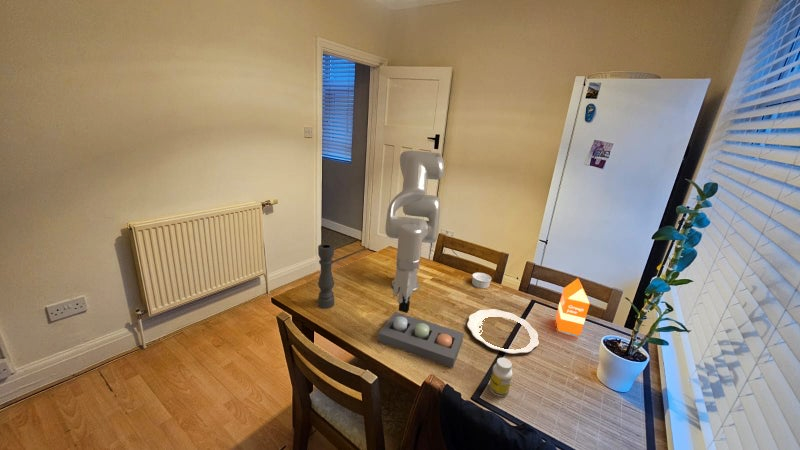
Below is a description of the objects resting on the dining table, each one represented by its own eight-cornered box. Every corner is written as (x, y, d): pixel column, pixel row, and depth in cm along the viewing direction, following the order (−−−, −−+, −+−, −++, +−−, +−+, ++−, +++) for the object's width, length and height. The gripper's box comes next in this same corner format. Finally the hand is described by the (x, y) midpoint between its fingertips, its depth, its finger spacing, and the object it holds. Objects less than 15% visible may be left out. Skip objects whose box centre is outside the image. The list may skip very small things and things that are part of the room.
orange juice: (556, 332, 118) (569, 285, 112) (554, 319, 126) (566, 275, 120) (579, 338, 116) (594, 290, 110) (576, 324, 124) (589, 279, 118)
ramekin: (475, 278, 155) (476, 270, 154) (492, 284, 151) (494, 276, 149) (467, 285, 149) (469, 276, 147) (485, 291, 144) (487, 283, 142)
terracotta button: (438, 339, 108) (439, 331, 107) (452, 343, 106) (453, 336, 105) (434, 347, 103) (435, 340, 102) (448, 352, 102) (450, 345, 101)
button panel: (394, 319, 119) (395, 311, 118) (462, 341, 110) (463, 332, 108) (377, 341, 106) (378, 333, 105) (452, 368, 97) (454, 359, 96)
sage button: (417, 328, 110) (418, 321, 109) (430, 333, 108) (431, 325, 107) (412, 336, 106) (413, 329, 105) (425, 341, 104) (426, 333, 103)
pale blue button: (396, 322, 113) (397, 315, 112) (408, 326, 111) (409, 318, 110) (390, 329, 109) (391, 322, 108) (403, 333, 107) (404, 326, 106)
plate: (535, 322, 124) (536, 318, 123) (540, 366, 101) (541, 361, 101) (471, 307, 131) (471, 303, 130) (462, 344, 108) (463, 340, 108)
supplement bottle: (486, 382, 93) (491, 355, 90) (503, 382, 93) (509, 355, 90) (492, 397, 88) (498, 369, 85) (511, 397, 88) (518, 369, 85)
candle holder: (330, 310, 121) (330, 250, 113) (315, 307, 122) (314, 248, 114) (336, 301, 127) (337, 244, 119) (322, 299, 128) (321, 242, 120)
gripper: (405, 251, 109) (401, 297, 115) (388, 268, 96) (384, 319, 102) (426, 256, 107) (421, 302, 113) (411, 274, 94) (406, 326, 100)
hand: (403, 310), depth 107 cm, fingers closed
